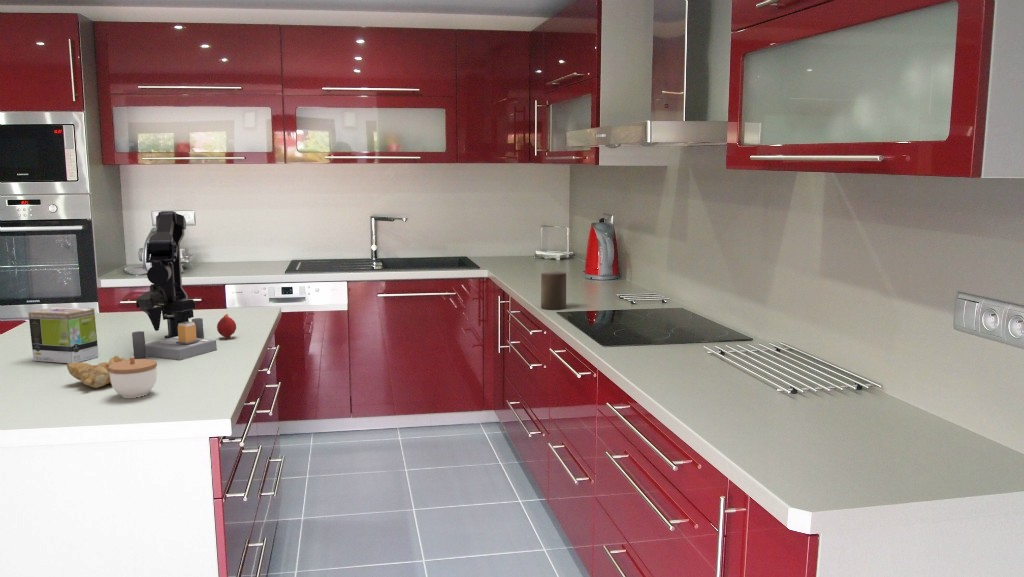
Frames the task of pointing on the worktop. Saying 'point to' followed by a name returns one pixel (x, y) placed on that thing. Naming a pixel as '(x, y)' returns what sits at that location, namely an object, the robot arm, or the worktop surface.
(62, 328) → the tea box
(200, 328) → the cable post
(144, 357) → the cable post
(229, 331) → the onion
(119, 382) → the lidded jar
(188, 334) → the block
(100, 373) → the ginger root
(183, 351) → the panel
